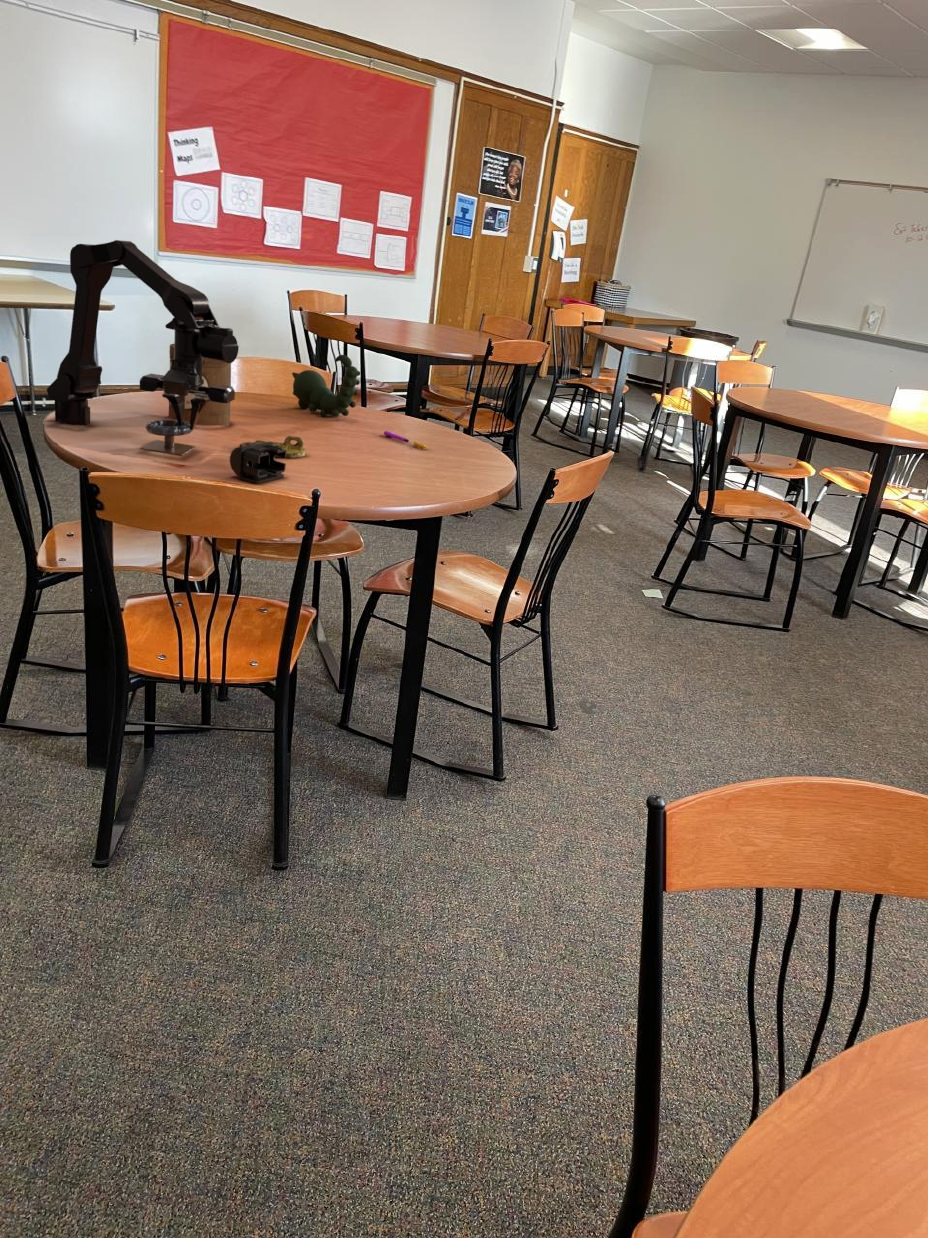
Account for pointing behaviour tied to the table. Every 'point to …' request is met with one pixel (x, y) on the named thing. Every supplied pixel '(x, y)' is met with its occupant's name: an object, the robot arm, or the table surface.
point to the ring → (168, 428)
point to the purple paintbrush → (404, 439)
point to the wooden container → (212, 375)
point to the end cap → (258, 462)
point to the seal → (285, 446)
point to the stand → (169, 444)
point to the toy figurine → (326, 390)
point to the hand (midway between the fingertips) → (186, 428)
